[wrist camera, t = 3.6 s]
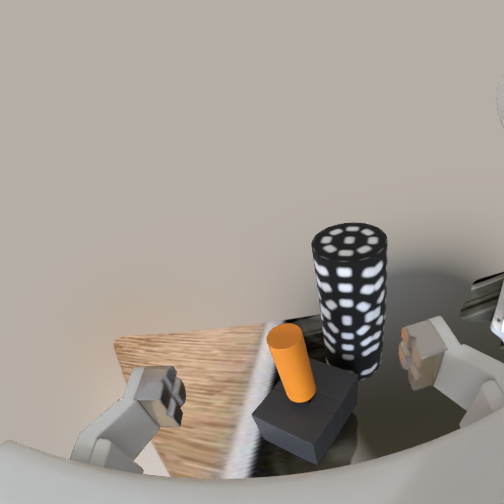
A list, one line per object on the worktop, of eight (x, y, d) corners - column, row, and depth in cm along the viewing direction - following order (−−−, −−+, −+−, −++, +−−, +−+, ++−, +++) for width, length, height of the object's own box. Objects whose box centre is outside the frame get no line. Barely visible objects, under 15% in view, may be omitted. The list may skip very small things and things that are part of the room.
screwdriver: (307, 409, 36) (279, 319, 28) (328, 417, 34) (308, 328, 26) (294, 427, 34) (259, 343, 26) (315, 436, 32) (289, 353, 24)
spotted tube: (333, 336, 46) (320, 222, 36) (384, 340, 42) (388, 222, 33) (319, 377, 40) (302, 260, 30) (376, 384, 36) (385, 263, 26)
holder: (305, 384, 39) (300, 354, 36) (356, 403, 34) (358, 374, 31) (263, 438, 33) (251, 414, 30) (317, 465, 28) (313, 445, 25)
